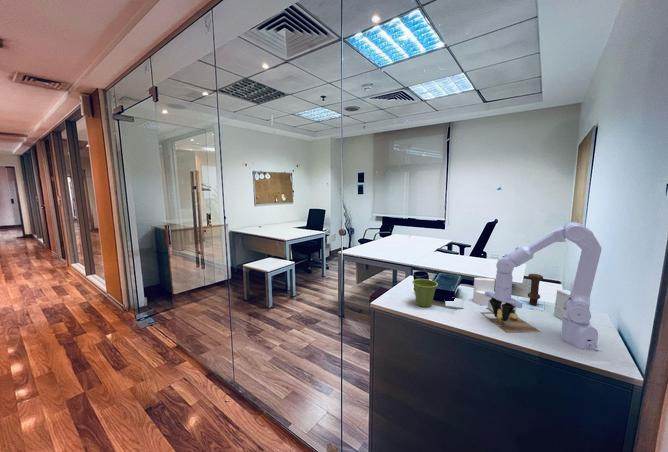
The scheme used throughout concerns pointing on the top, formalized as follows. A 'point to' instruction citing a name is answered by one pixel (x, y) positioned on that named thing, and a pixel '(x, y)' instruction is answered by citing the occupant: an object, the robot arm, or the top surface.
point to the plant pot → (424, 291)
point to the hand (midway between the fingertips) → (501, 318)
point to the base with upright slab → (482, 290)
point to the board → (513, 324)
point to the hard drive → (454, 304)
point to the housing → (501, 306)
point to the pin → (500, 316)
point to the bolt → (534, 288)
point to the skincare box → (561, 303)
